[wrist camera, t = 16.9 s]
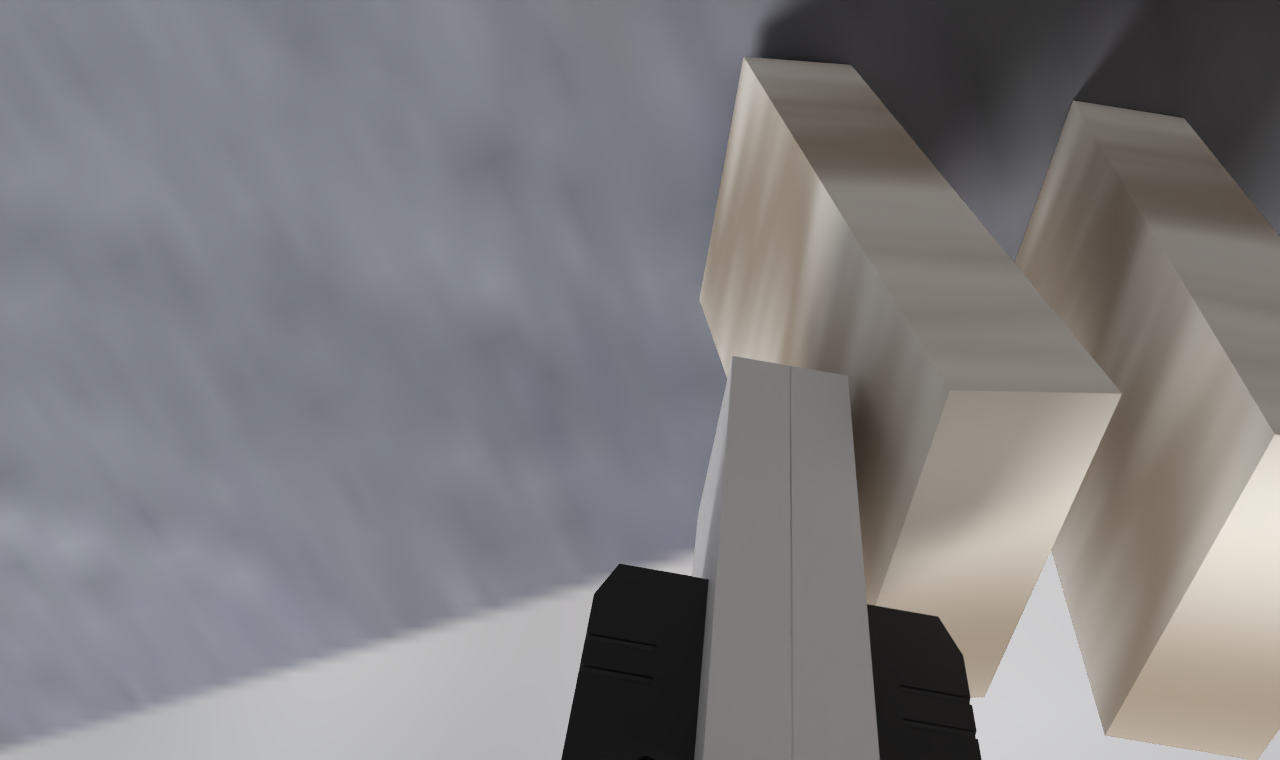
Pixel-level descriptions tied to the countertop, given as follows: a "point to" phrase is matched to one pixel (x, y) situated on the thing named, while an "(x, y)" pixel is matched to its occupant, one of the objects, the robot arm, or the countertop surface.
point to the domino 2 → (1169, 429)
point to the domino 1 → (904, 347)
